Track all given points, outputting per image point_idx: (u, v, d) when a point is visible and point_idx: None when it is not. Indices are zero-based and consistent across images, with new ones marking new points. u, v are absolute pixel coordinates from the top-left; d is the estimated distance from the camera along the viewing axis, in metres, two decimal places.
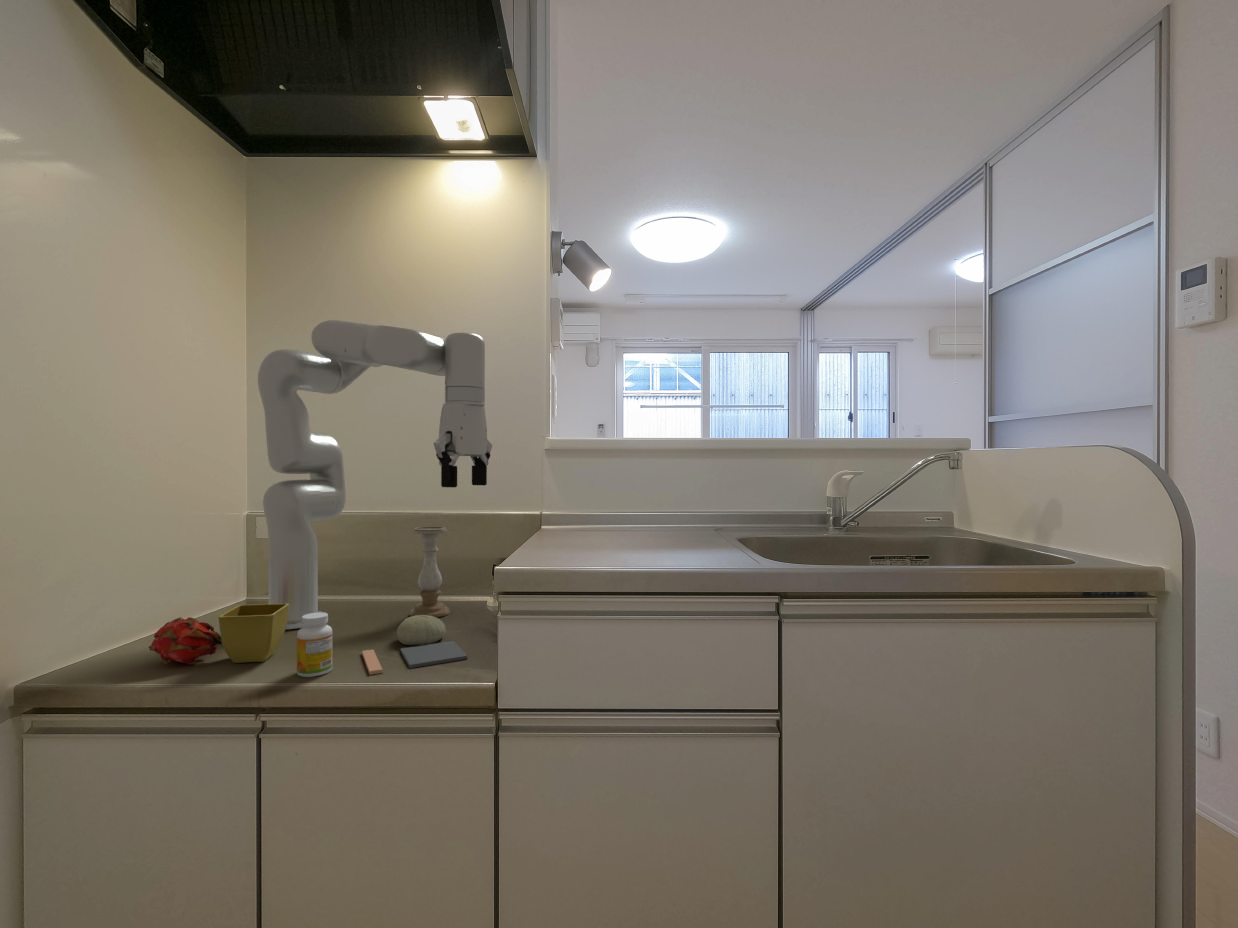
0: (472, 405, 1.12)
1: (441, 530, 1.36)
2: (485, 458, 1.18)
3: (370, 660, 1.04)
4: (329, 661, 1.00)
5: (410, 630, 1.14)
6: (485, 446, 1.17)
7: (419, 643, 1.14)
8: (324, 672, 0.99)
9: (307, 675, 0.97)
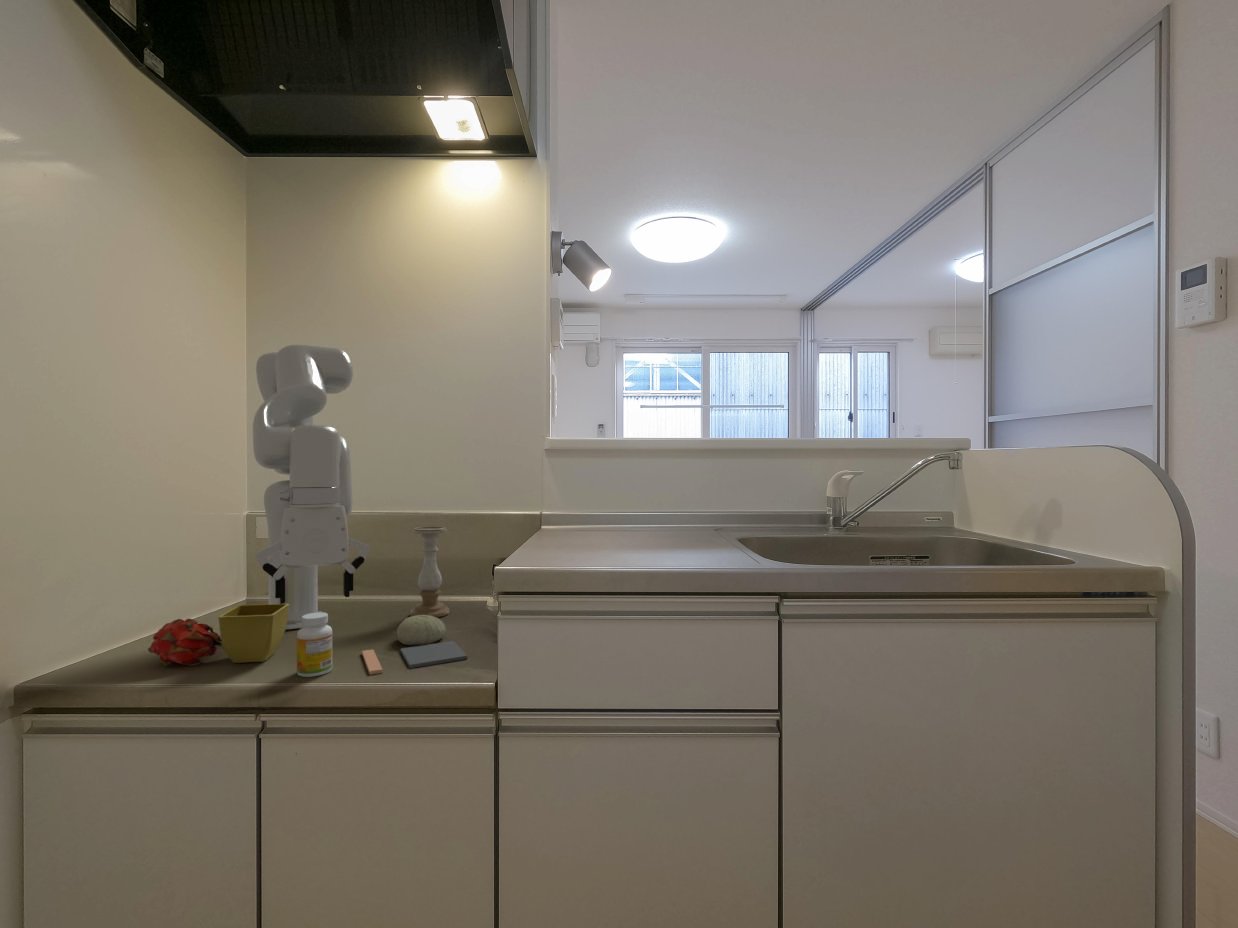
0: None
1: (441, 530, 1.36)
2: None
3: (370, 660, 1.04)
4: (329, 661, 1.00)
5: (410, 630, 1.14)
6: None
7: (419, 643, 1.14)
8: (324, 672, 0.99)
9: (307, 675, 0.97)
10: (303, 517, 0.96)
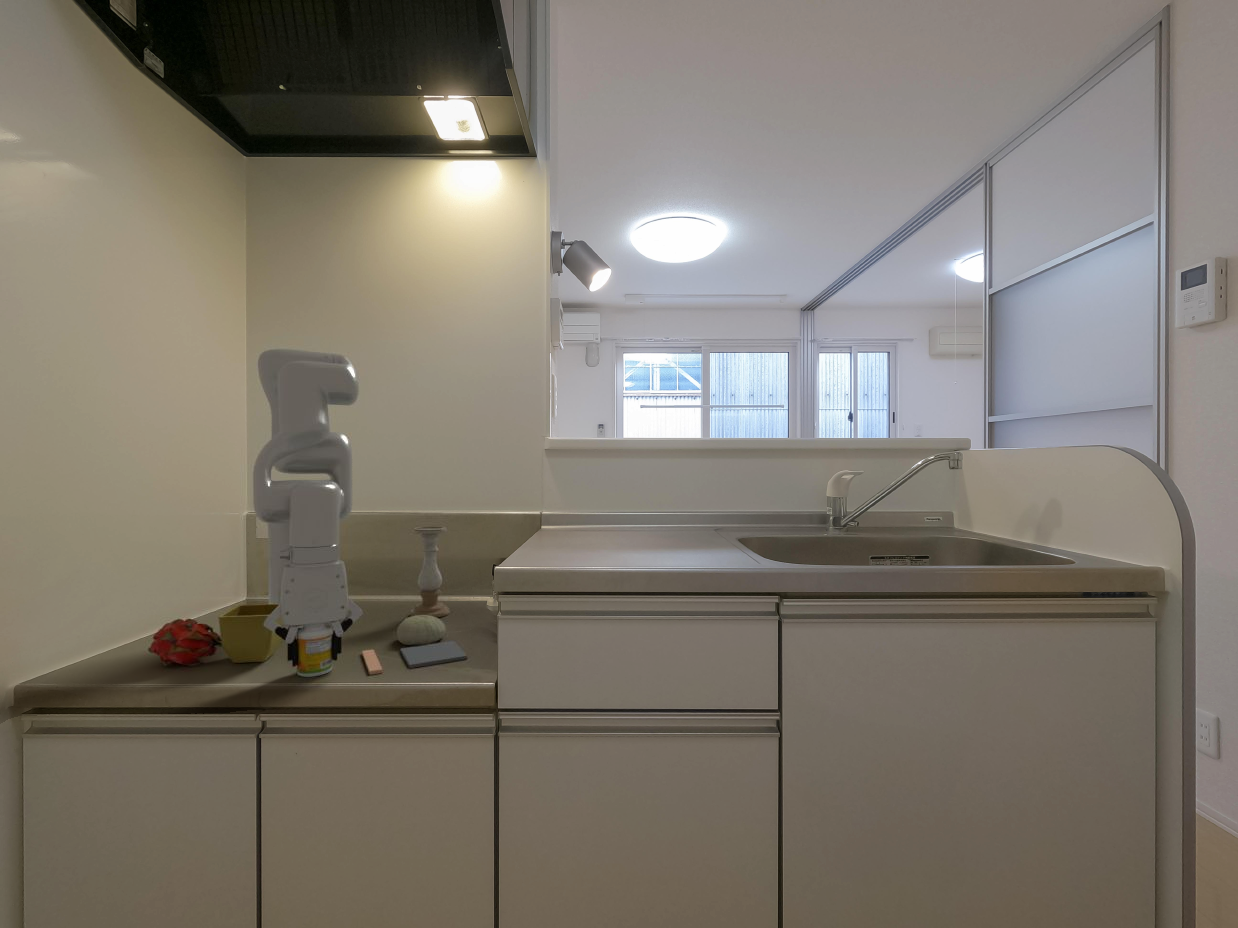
0: None
1: (441, 530, 1.36)
2: None
3: (370, 660, 1.04)
4: (329, 661, 1.00)
5: (409, 630, 1.14)
6: None
7: (419, 643, 1.14)
8: (324, 672, 0.99)
9: (307, 675, 0.97)
10: (303, 576, 0.97)
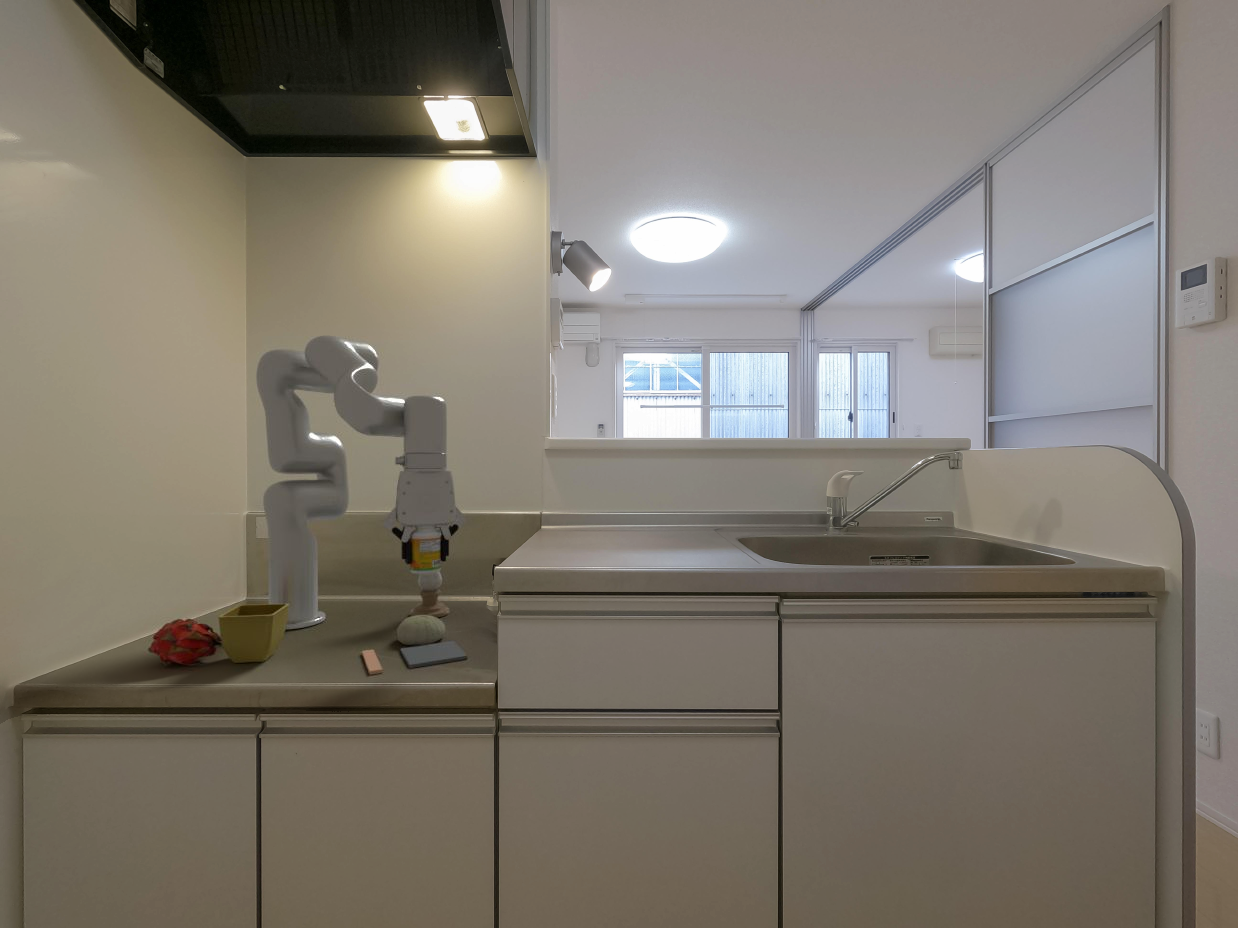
0: None
1: None
2: None
3: (370, 660, 1.04)
4: (439, 562, 1.08)
5: (409, 630, 1.14)
6: None
7: (419, 643, 1.14)
8: (435, 571, 1.06)
9: (421, 572, 1.05)
10: (417, 480, 1.05)
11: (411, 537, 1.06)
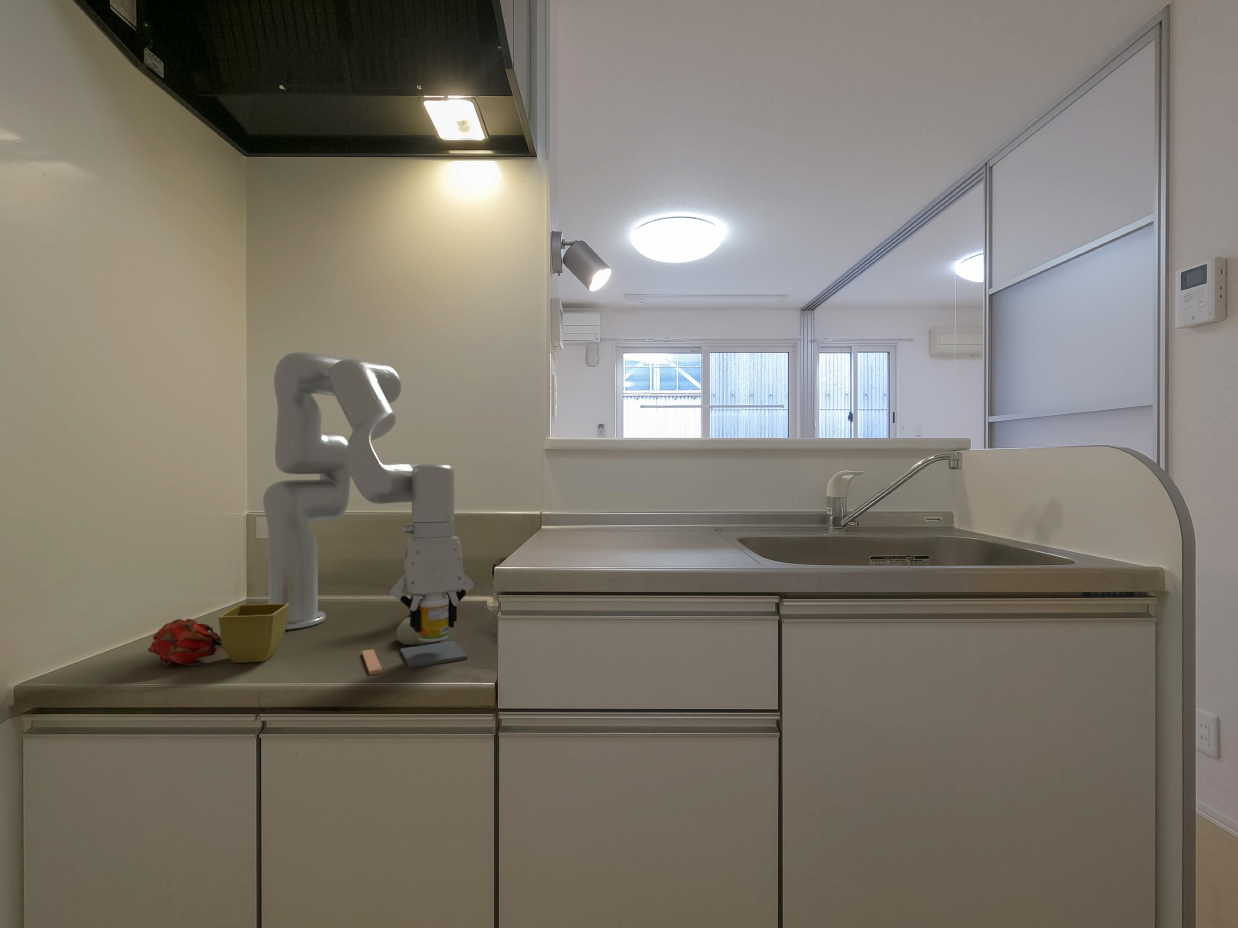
0: None
1: None
2: None
3: (370, 660, 1.04)
4: (447, 628, 1.08)
5: (409, 630, 1.14)
6: None
7: (419, 643, 1.14)
8: (444, 638, 1.07)
9: (429, 640, 1.06)
10: (426, 549, 1.05)
11: (420, 605, 1.07)
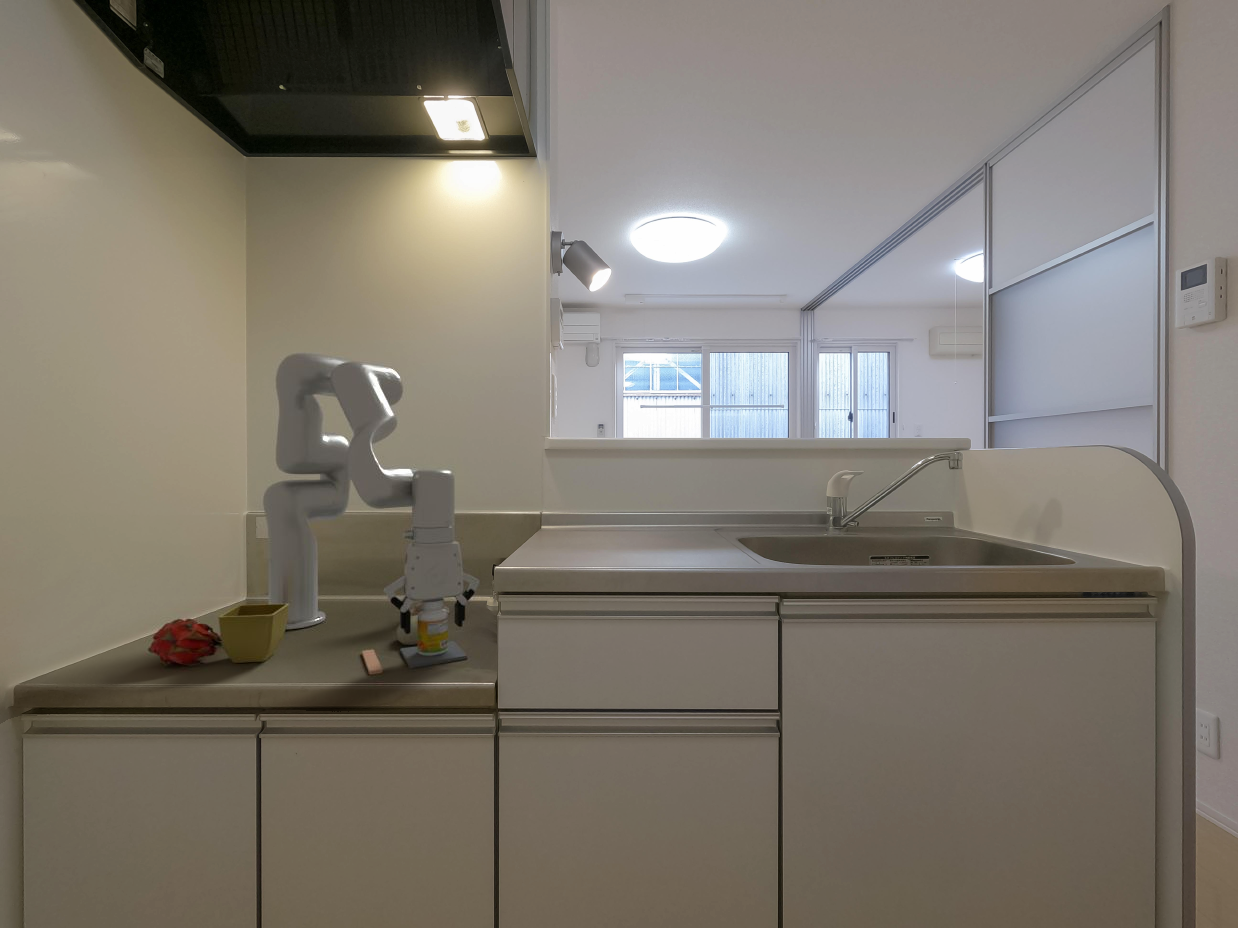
0: None
1: None
2: None
3: (370, 660, 1.04)
4: (447, 642, 1.09)
5: None
6: None
7: None
8: (443, 651, 1.08)
9: (429, 654, 1.06)
10: (426, 555, 1.05)
11: (419, 619, 1.07)
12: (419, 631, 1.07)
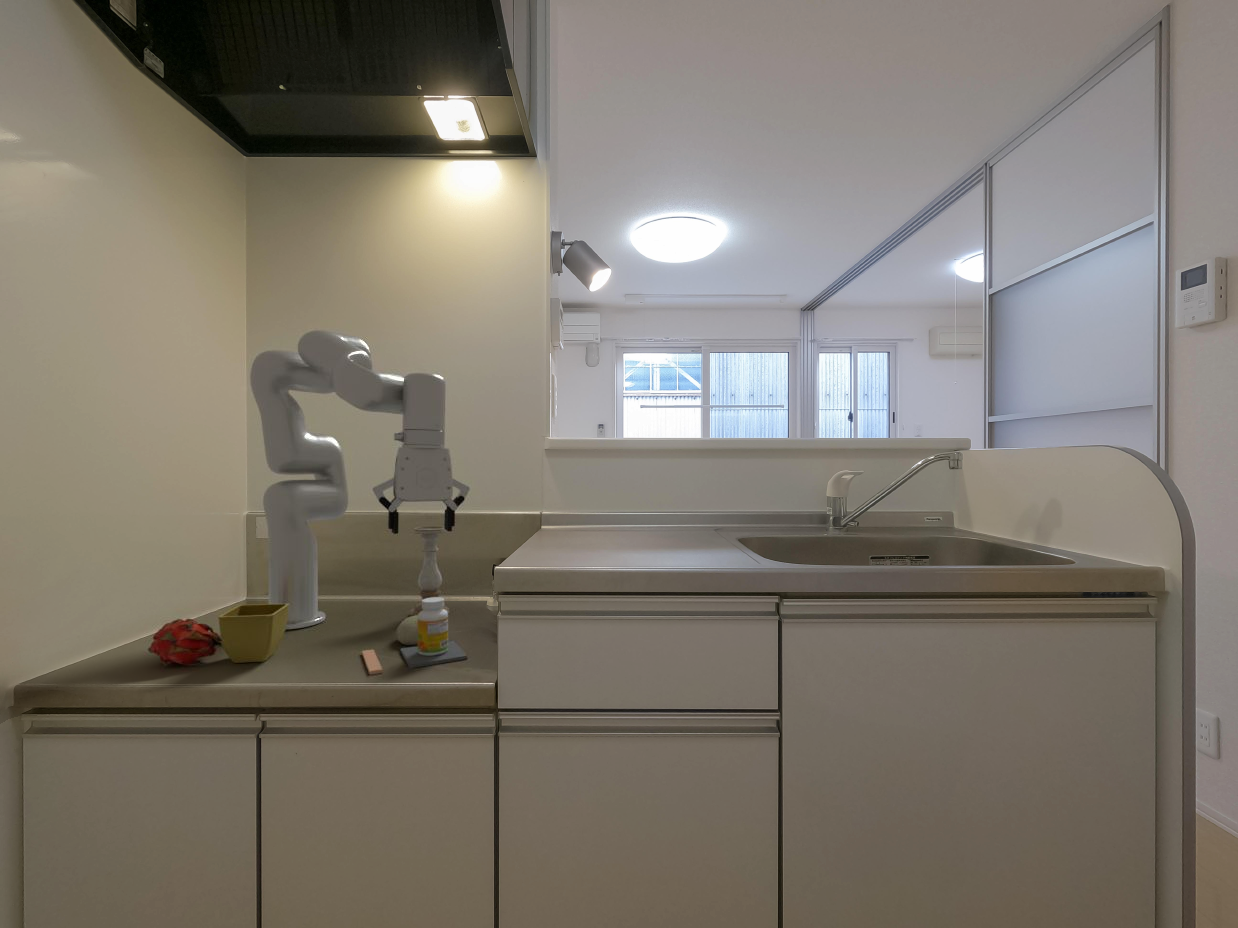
0: None
1: (441, 530, 1.36)
2: None
3: (370, 660, 1.04)
4: (447, 642, 1.09)
5: (409, 630, 1.14)
6: None
7: None
8: (443, 651, 1.08)
9: (429, 654, 1.06)
10: (416, 456, 1.06)
11: (419, 619, 1.07)
12: (419, 631, 1.07)
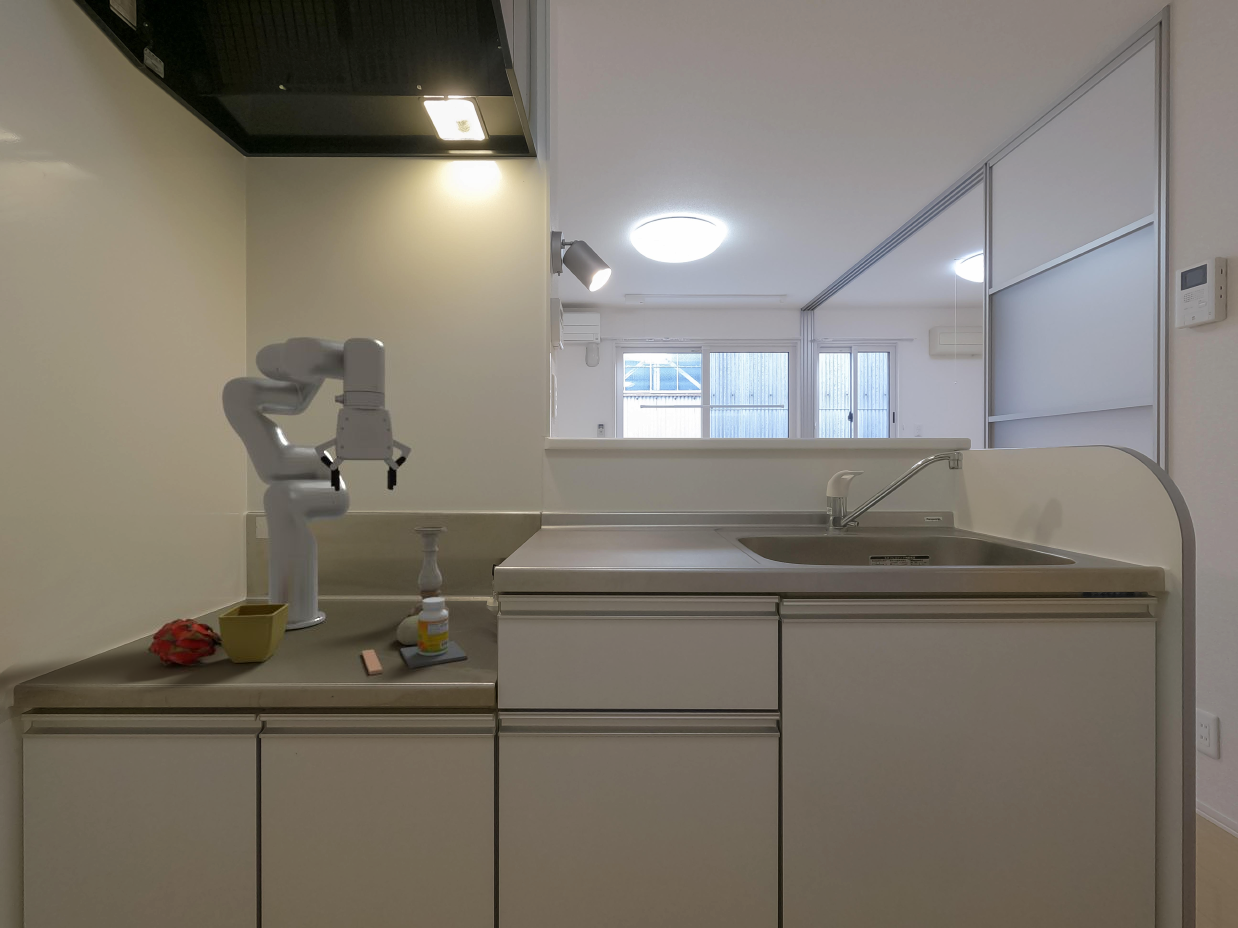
0: None
1: (441, 530, 1.36)
2: None
3: (370, 660, 1.04)
4: (447, 642, 1.09)
5: (409, 630, 1.14)
6: None
7: None
8: (443, 652, 1.07)
9: (429, 654, 1.06)
10: (355, 417, 1.11)
11: (419, 619, 1.07)
12: (419, 631, 1.07)
